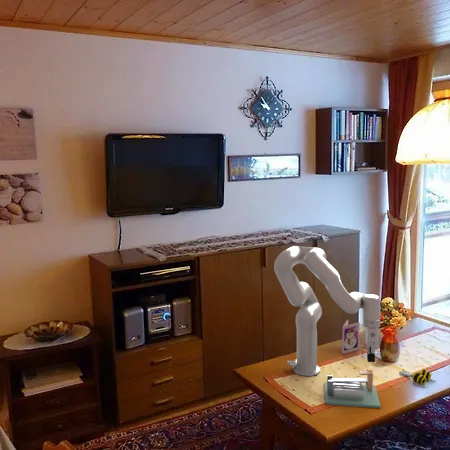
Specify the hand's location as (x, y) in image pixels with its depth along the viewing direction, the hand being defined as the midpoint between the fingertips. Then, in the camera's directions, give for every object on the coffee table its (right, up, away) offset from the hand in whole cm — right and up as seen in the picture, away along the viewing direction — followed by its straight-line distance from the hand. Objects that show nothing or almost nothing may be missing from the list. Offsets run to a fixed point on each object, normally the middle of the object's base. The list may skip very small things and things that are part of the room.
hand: (371, 361), depth 226 cm
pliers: (+22, -10, +5) cm, 24 cm away
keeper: (-4, -10, -6) cm, 12 cm away
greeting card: (-2, -4, +38) cm, 38 cm away
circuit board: (-12, -12, -10) cm, 20 cm away
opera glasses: (+24, -10, +2) cm, 26 cm away
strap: (-13, -7, -11) cm, 18 cm away
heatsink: (-14, -11, -10) cm, 21 cm away
